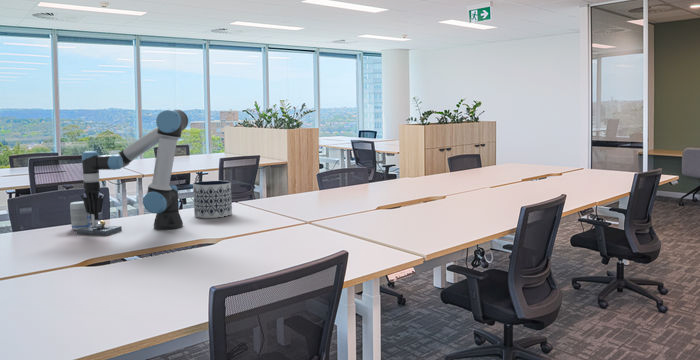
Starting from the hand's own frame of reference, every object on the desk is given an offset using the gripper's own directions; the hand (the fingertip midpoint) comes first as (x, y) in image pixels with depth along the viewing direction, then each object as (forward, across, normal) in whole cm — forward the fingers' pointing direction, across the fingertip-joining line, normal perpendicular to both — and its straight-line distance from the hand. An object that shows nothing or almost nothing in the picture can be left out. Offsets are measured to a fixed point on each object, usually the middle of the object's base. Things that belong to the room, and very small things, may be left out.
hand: (95, 226), depth 279 cm
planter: (+4, -36, -59) cm, 69 cm away
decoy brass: (0, 0, -5) cm, 5 cm away
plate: (+4, -1, -1) cm, 4 cm away
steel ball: (0, -2, 0) cm, 2 cm away
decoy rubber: (0, +5, -5) cm, 7 cm away
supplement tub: (+4, +16, -8) cm, 18 cm away
